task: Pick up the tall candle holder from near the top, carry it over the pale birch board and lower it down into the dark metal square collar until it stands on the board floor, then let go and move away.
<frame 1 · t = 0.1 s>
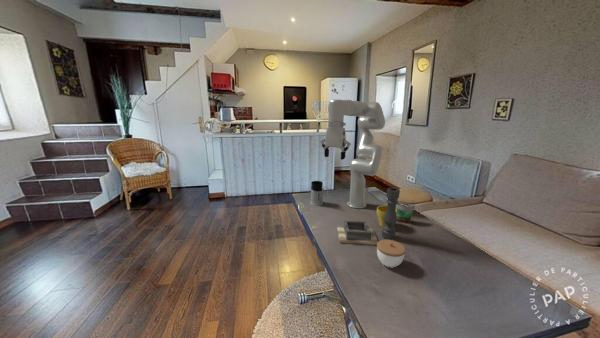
hand: (334, 158, 119), 37 cm above the table, tool pointing down, fingers open, 9 cm apart
candle holder: (388, 237, 114), on the table
lidded jar: (389, 263, 94), on the table
food container: (401, 221, 130), on the table
plant pot: (385, 225, 125), on the table
socket board: (356, 236, 114), on the table
glass holder: (319, 204, 154), on the table
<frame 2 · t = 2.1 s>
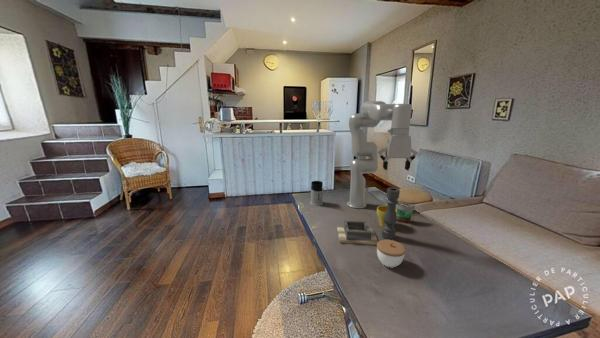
hand: (396, 169, 105), 35 cm above the table, tool pointing down, fingers open, 9 cm apart
nothing on the table moved.
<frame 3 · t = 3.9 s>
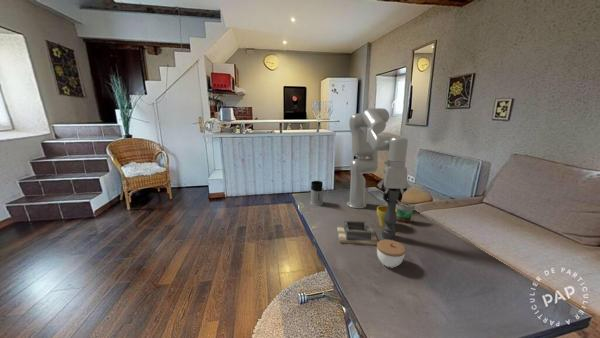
hand: (392, 200, 109), 20 cm above the table, tool pointing down, fingers closed on candle holder, 5 cm apart
candle holder: (388, 237, 114), on the table, touching gripper
everything else where it was.
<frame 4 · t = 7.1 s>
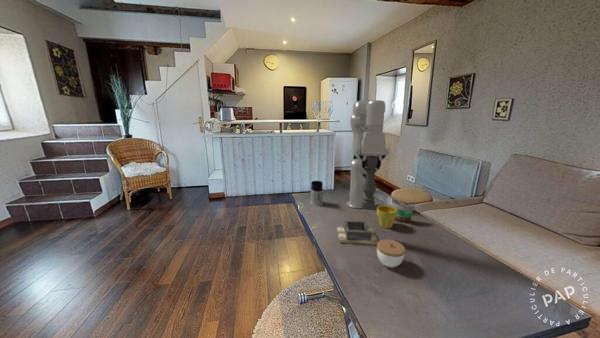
hand: (370, 168, 105), 35 cm above the table, tool pointing down, fingers closed on candle holder, 5 cm apart
candle holder: (367, 207, 110), point 16 cm above the table, touching gripper
everything else where it was.
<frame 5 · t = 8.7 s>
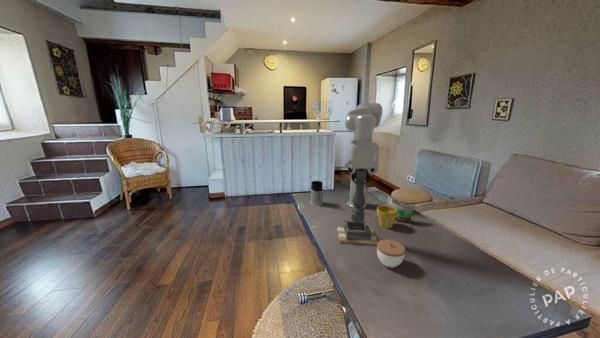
hand: (360, 181, 107), 29 cm above the table, tool pointing down, fingers closed on candle holder, 5 cm apart
candle holder: (357, 219, 111), point 9 cm above the table, touching gripper
everything else where it was.
when the fingers open (23 cm above the table, at t = 10.3 s): candle holder drops 2 cm, resting on socket board.
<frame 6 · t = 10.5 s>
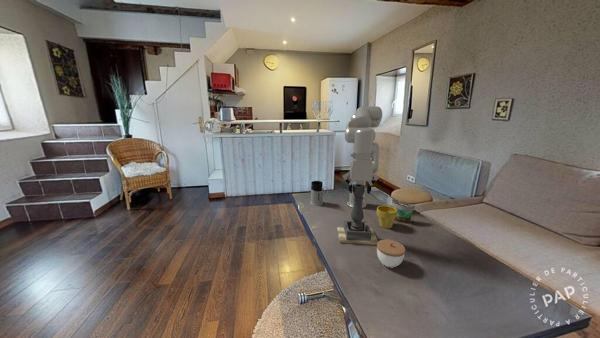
hand: (359, 192, 108), 23 cm above the table, tool pointing down, fingers open, 7 cm apart
candle holder: (356, 233, 114), point 1 cm above the table, touching socket board
everything else where it was.
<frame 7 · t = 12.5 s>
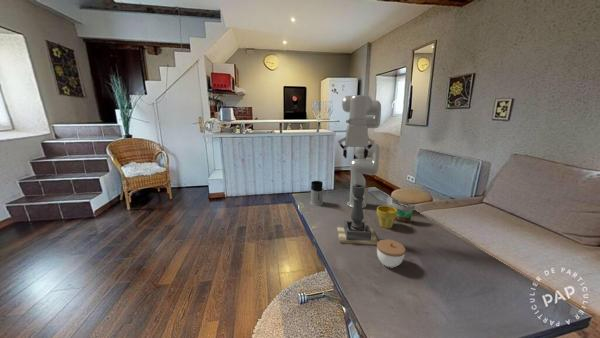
hand: (355, 157, 112), 39 cm above the table, tool pointing down, fingers open, 9 cm apart
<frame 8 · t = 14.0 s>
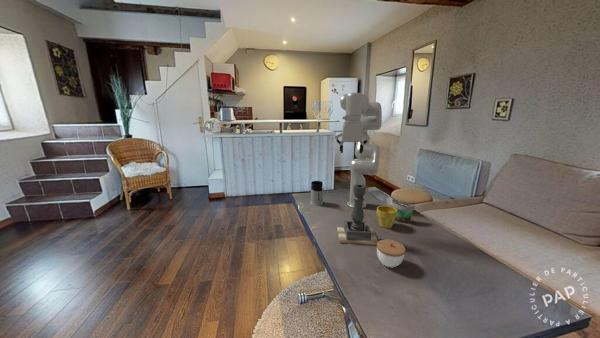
hand: (351, 152, 117), 40 cm above the table, tool pointing down, fingers open, 9 cm apart
nothing on the table moved.
at the end: candle holder 0.2 cm off-centre on the socket board, point 1.4 cm above the socket board's base; candle holder tilted 1°; the gripper is holding nothing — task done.
